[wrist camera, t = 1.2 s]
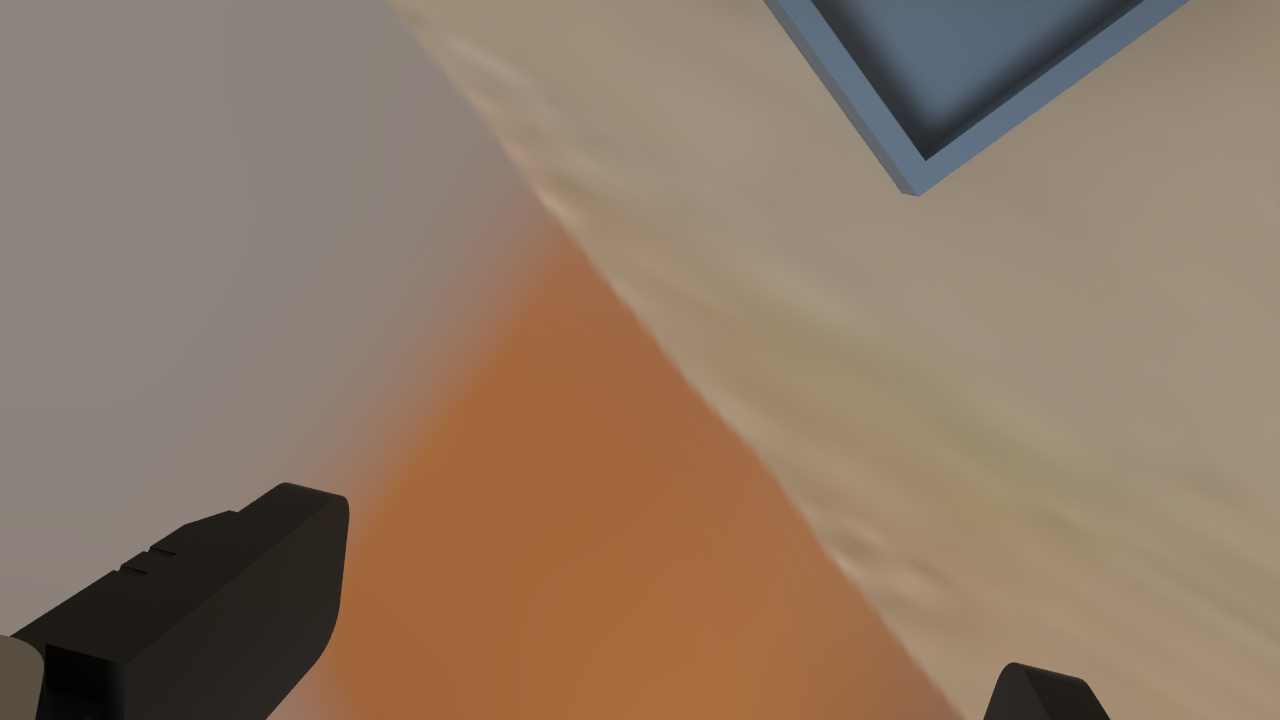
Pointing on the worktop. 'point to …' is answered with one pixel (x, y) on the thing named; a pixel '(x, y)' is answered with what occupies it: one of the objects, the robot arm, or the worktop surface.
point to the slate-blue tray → (954, 67)
